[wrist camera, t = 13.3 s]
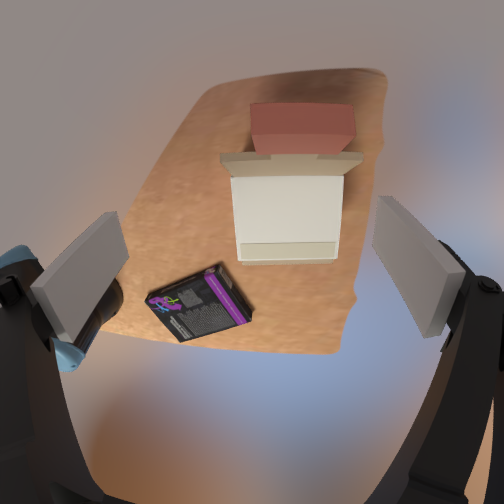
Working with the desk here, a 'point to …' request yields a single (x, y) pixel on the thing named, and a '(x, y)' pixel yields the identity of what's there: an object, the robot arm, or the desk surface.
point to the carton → (287, 218)
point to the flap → (297, 141)
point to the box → (200, 305)
